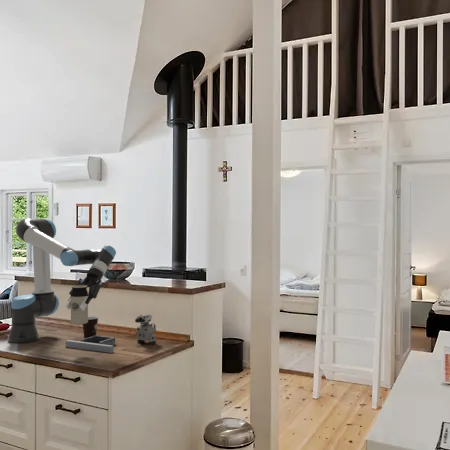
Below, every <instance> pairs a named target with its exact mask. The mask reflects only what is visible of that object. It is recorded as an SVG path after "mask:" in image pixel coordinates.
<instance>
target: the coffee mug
mask: <svg viewBox="0 0 450 450" xmlns="http://www.w3.org/2000/svg"><path fill="white" fill-rule="evenodd" d="M98 321H99V317H98V316H88V322H87V323H85V324H82V329H83V338H89V337H92V336H95V335H97V331H98V323H99V322H98Z"/></svg>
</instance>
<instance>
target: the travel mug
mask: <svg viewBox="0 0 450 450" xmlns="http://www.w3.org/2000/svg"><path fill="white" fill-rule="evenodd" d="M70 288H71V290H72V291H71V290H70V291H71V295H70V297H71V308H70V324H71V325H83V324H85V323H87V322H88V317H89V304H87V306H86V307H85V309H84V311H82V310H81V308H80V306H81V304H82V302H83V301H84V299H85V297H86V296H88V293H89V290H88V289H87V288H88V287H87V285H76V284H74V285H71V287H70Z"/></svg>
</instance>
